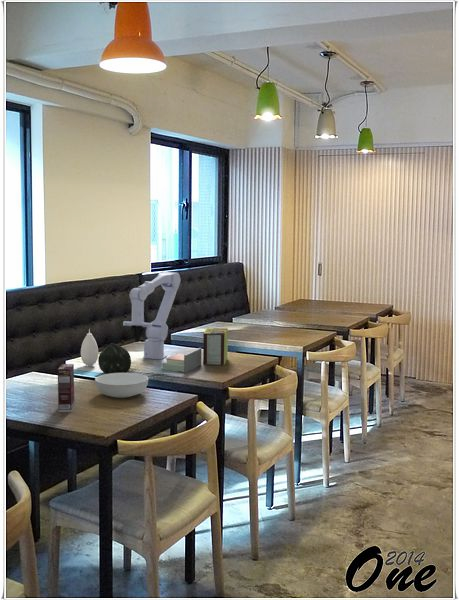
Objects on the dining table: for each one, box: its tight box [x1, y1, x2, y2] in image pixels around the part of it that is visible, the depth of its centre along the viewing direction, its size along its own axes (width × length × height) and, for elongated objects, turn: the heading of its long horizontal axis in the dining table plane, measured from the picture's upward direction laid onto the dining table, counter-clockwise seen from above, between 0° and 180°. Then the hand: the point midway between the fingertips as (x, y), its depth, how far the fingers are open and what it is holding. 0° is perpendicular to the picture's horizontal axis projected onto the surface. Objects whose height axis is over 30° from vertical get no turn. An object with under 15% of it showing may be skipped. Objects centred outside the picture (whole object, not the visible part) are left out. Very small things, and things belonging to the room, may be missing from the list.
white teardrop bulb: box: [80, 328, 99, 368], centre depth 308 cm, size 8×8×18 cm
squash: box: [97, 342, 132, 375], centre depth 295 cm, size 14×15×15 cm
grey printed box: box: [161, 347, 203, 373], centre depth 310 cm, size 12×18×8 cm
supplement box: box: [57, 363, 76, 413], centre depth 240 cm, size 9×5×16 cm, turn 5°
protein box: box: [202, 327, 229, 366], centre depth 323 cm, size 10×15×16 cm
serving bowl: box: [94, 372, 149, 399], centre depth 261 cm, size 21×21×7 cm
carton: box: [165, 353, 186, 365], centre depth 311 cm, size 10×12×5 cm
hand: (137, 341), depth 317 cm, fingers closed
